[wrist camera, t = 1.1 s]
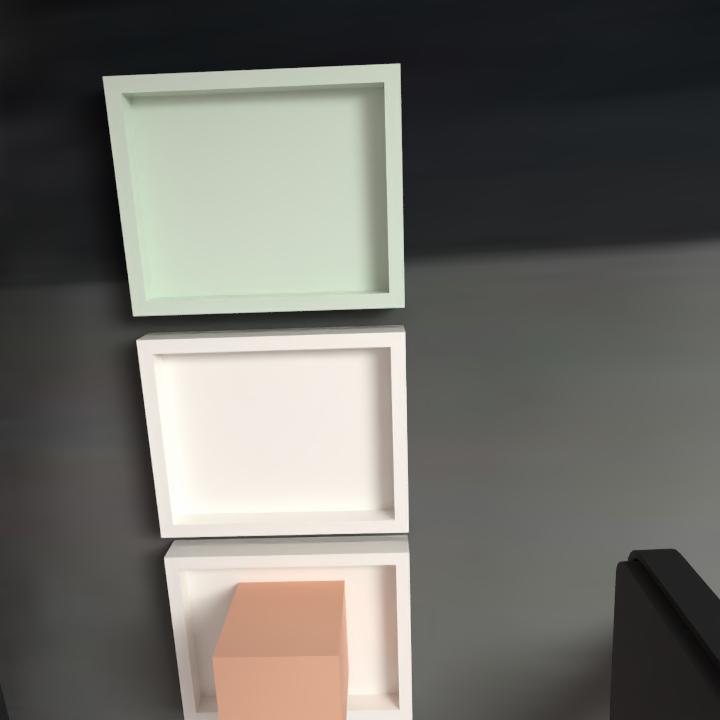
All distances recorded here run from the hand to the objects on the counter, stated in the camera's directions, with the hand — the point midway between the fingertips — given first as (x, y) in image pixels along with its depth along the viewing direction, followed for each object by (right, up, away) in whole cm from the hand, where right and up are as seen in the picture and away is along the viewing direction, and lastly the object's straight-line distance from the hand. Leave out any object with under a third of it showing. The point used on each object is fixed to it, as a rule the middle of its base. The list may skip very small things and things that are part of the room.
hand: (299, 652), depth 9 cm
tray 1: (-3, +11, +16) cm, 20 cm away
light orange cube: (-2, -9, +21) cm, 23 cm away
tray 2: (-3, +1, +19) cm, 19 cm away
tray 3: (-2, -8, +21) cm, 23 cm away
